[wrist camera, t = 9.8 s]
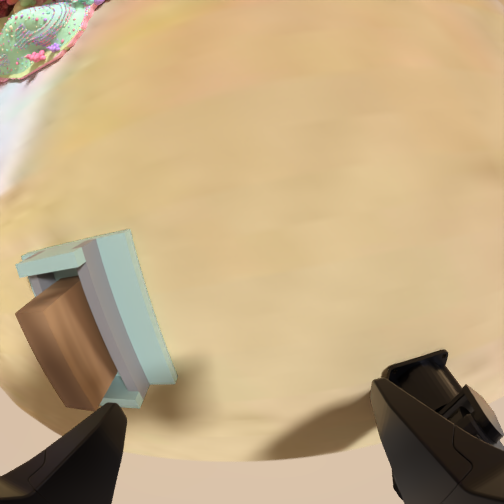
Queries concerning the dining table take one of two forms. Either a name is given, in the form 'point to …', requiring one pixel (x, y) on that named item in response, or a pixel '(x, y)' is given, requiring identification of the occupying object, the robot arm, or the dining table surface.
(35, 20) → the candy landscape model
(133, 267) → the light blue tray
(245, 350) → the dining table surface
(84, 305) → the brown wooden block
